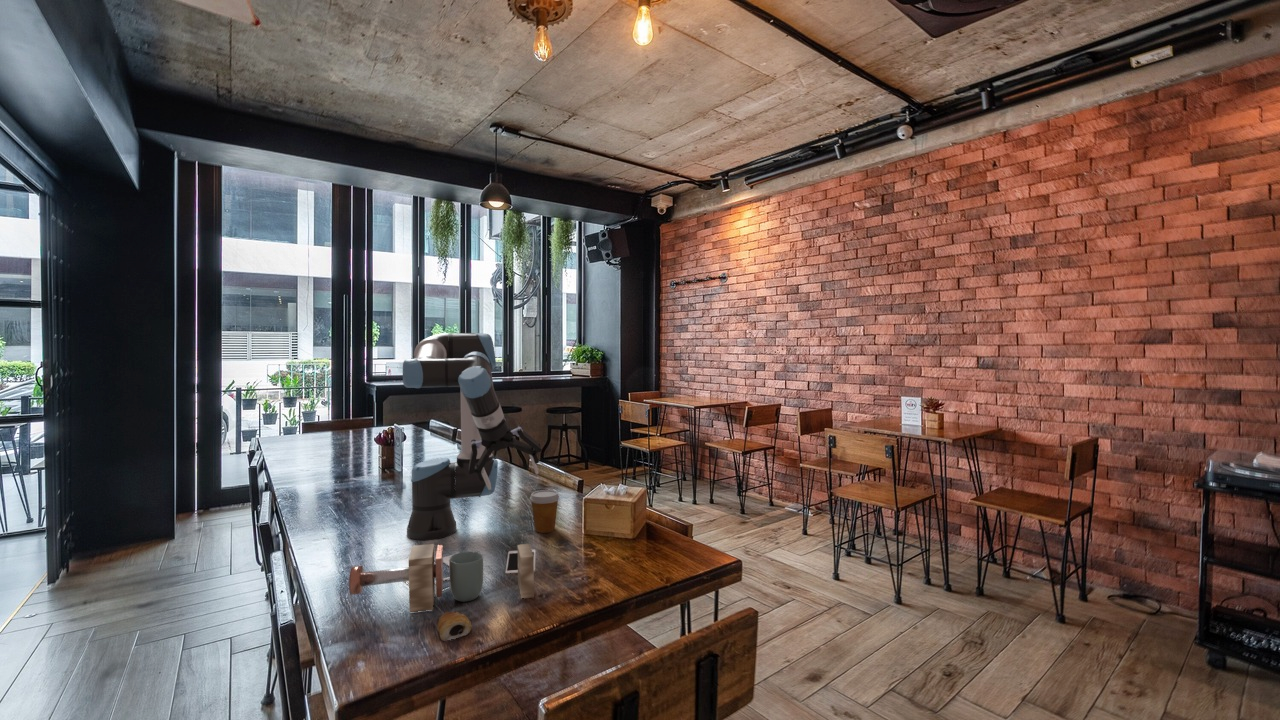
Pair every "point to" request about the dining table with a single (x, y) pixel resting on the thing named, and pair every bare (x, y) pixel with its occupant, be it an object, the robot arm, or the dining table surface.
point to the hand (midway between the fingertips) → (513, 479)
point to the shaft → (393, 576)
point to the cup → (466, 575)
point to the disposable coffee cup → (544, 510)
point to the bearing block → (421, 578)
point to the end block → (525, 571)
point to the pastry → (453, 625)
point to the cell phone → (514, 562)
